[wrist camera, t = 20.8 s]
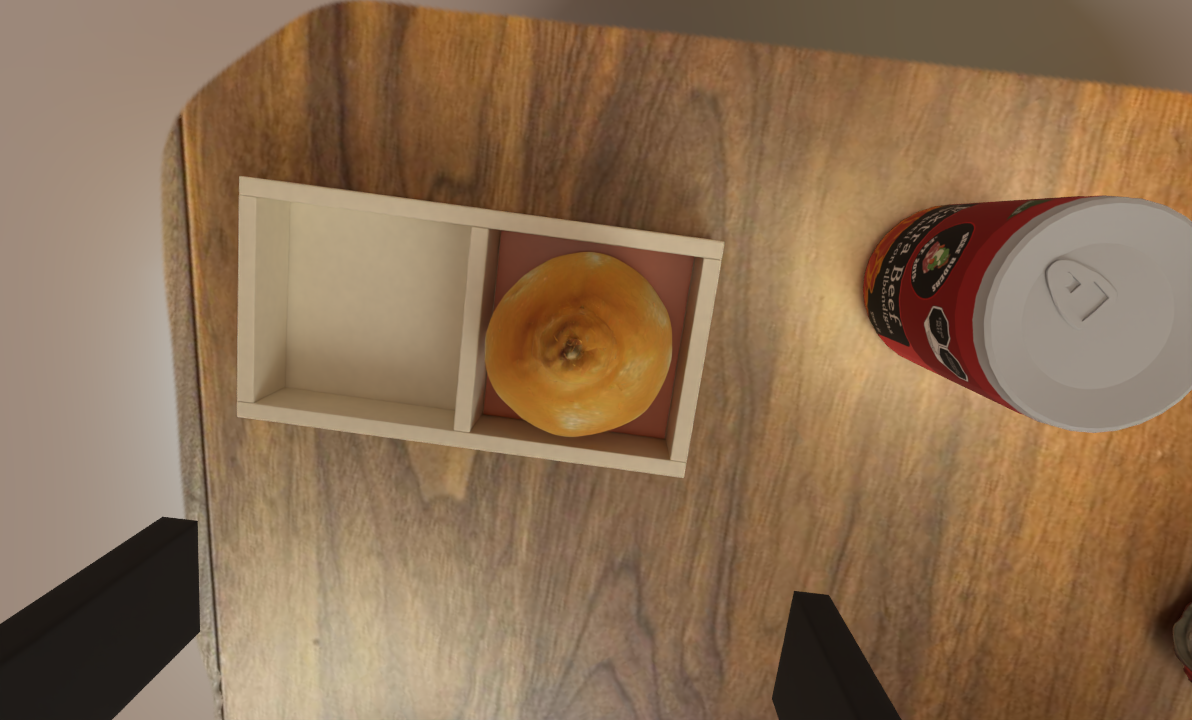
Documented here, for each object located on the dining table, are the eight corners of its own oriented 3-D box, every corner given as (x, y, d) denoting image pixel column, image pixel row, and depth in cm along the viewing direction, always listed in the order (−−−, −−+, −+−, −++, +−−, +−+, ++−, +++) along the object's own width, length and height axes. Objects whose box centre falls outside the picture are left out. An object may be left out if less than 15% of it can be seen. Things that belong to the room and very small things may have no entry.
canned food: (910, 176, 30) (1074, 149, 19) (1052, 252, 31) (1289, 269, 20) (826, 318, 32) (934, 367, 21) (962, 389, 32) (1137, 473, 21)
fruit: (556, 187, 28) (499, 294, 22) (715, 274, 29) (700, 396, 23) (496, 310, 33) (437, 422, 27) (631, 379, 34) (602, 499, 29)
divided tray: (280, 180, 31) (238, 175, 28) (713, 239, 31) (725, 241, 28) (274, 397, 33) (236, 417, 30) (677, 452, 33) (683, 478, 30)
